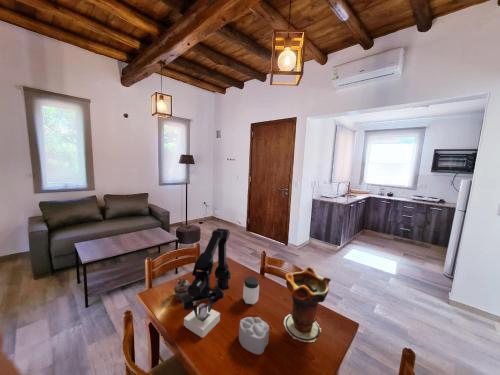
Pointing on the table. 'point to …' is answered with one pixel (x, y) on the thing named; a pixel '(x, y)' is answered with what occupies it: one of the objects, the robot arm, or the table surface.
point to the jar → (251, 290)
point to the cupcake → (181, 289)
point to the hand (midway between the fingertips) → (202, 313)
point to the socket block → (199, 326)
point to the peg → (202, 312)
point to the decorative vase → (305, 303)
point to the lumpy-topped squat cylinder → (253, 334)
